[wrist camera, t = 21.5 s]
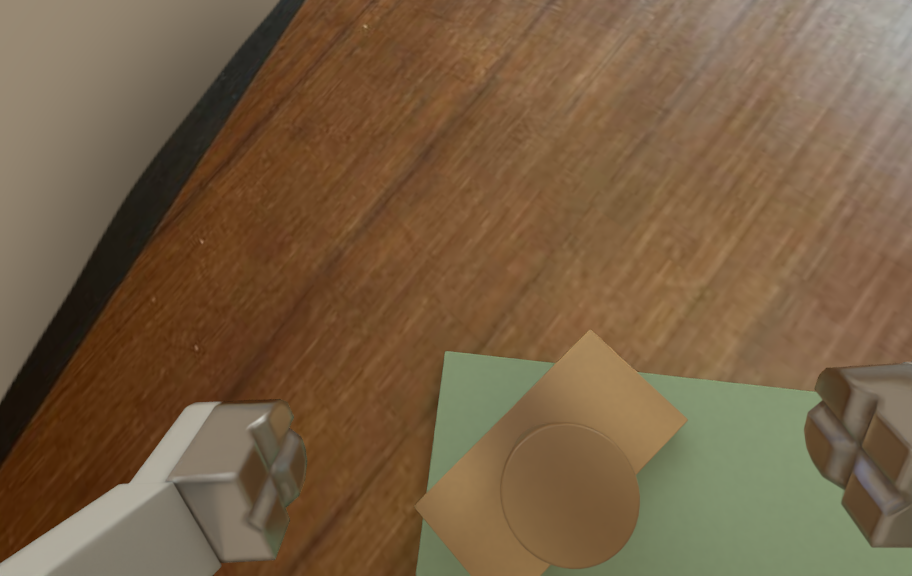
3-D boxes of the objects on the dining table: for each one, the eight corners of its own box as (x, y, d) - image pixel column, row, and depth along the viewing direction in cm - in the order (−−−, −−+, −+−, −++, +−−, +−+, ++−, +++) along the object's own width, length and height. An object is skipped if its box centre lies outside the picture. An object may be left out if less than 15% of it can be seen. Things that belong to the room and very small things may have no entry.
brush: (506, 589, 21) (485, 781, 10) (427, 496, 23) (327, 568, 11) (667, 420, 22) (821, 415, 11) (582, 340, 24) (637, 260, 12)
